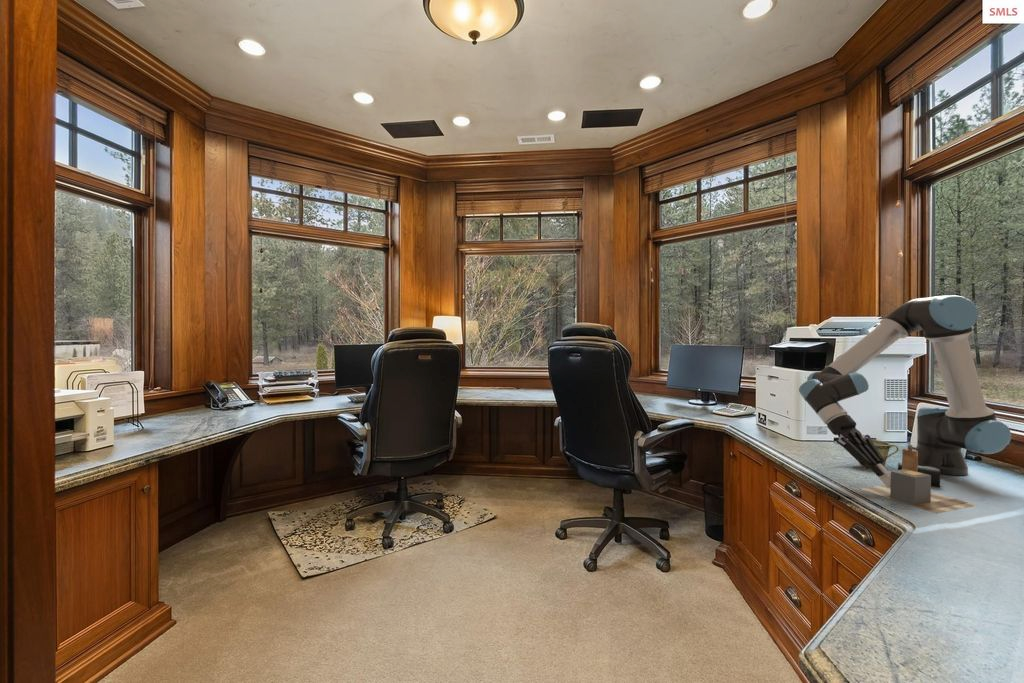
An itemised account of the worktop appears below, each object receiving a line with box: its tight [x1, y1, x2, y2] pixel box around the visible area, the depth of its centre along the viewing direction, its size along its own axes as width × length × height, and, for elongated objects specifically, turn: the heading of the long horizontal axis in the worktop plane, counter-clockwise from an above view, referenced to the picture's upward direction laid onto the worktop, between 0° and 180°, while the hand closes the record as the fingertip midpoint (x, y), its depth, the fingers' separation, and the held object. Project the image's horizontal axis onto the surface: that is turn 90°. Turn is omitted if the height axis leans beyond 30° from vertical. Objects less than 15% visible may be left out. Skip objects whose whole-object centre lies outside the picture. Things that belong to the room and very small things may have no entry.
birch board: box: [861, 484, 977, 514], centre depth 127 cm, size 18×19×1 cm
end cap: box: [897, 462, 941, 488], centre depth 140 cm, size 10×7×7 cm
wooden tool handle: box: [901, 444, 918, 472], centre depth 134 cm, size 4×4×14 cm
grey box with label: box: [889, 469, 932, 506], centre depth 124 cm, size 7×6×8 cm
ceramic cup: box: [858, 438, 899, 468], centre depth 157 cm, size 13×10×10 cm
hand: (892, 485), depth 128 cm, fingers closed
